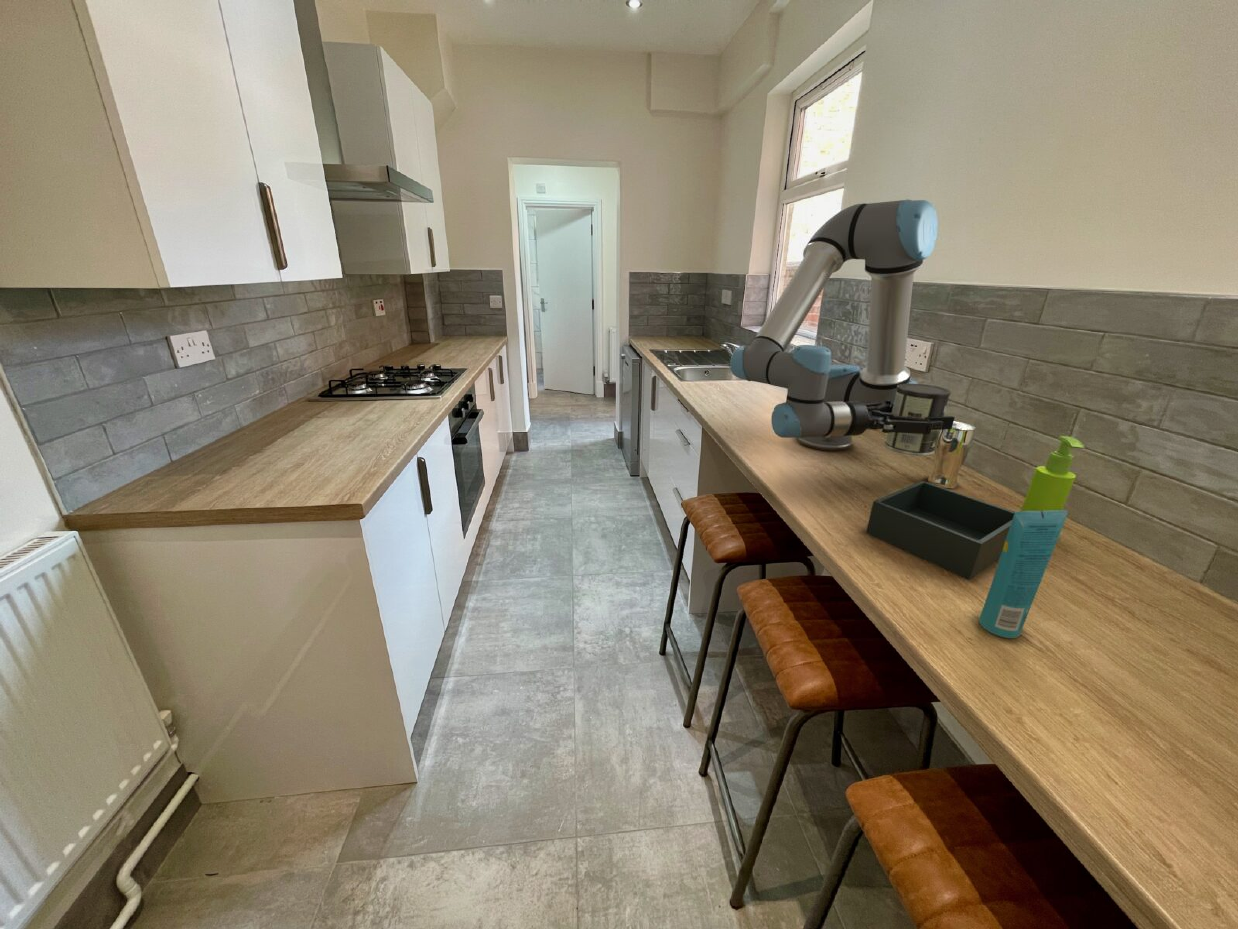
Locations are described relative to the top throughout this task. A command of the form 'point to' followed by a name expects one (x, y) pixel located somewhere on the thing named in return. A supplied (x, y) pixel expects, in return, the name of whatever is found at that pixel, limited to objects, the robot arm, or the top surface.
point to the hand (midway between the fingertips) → (933, 415)
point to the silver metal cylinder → (951, 454)
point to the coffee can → (917, 405)
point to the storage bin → (942, 527)
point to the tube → (1020, 570)
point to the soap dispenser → (1052, 479)
